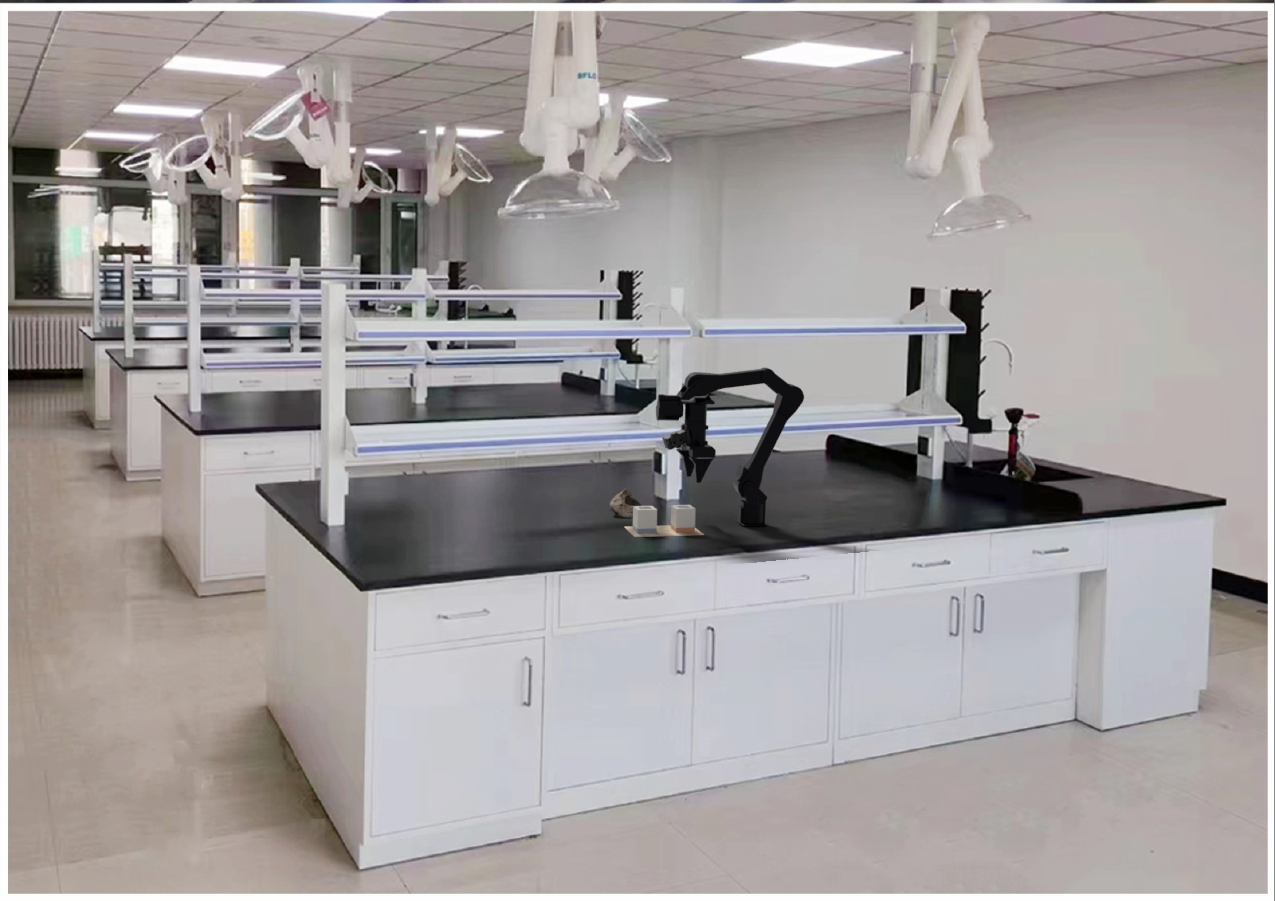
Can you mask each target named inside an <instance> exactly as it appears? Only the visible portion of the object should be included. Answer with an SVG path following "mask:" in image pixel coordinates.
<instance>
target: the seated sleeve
mask: <svg viewBox="0 0 1275 901" xmlns="http://www.w3.org/2000/svg"><path fill="white" fill-rule="evenodd" d="M632 526H633V530H634V531H635V532H636V533H637V534H642V533H657V526H658V508H656V507H654V506H653V505H642V506H633V517H632Z"/></svg>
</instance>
